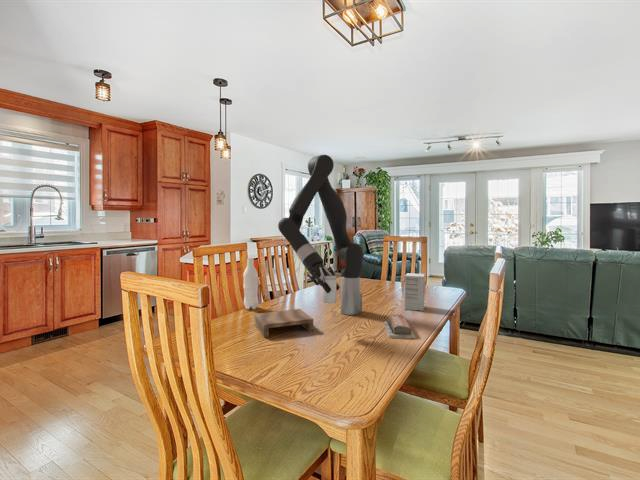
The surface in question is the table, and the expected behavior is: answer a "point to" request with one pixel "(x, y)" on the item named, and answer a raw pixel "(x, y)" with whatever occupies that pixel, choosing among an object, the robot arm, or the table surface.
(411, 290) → the supplement box
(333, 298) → the tumbler
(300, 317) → the shelf riser
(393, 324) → the packaged product
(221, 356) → the table surface
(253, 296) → the water bottle
